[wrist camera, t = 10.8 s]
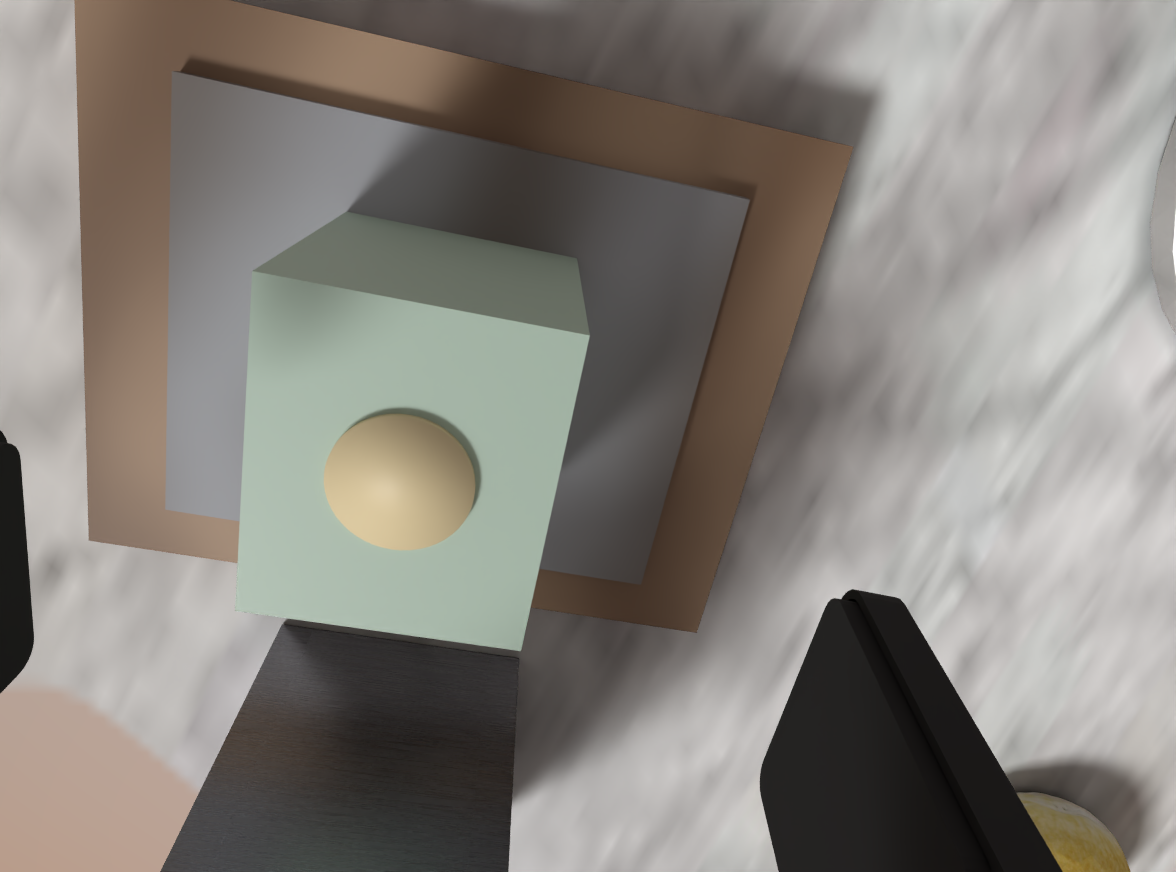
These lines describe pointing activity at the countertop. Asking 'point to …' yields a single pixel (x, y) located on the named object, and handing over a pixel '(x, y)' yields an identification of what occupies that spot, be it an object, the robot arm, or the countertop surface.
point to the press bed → (447, 203)
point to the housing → (405, 429)
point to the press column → (361, 763)
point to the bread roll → (1074, 835)
